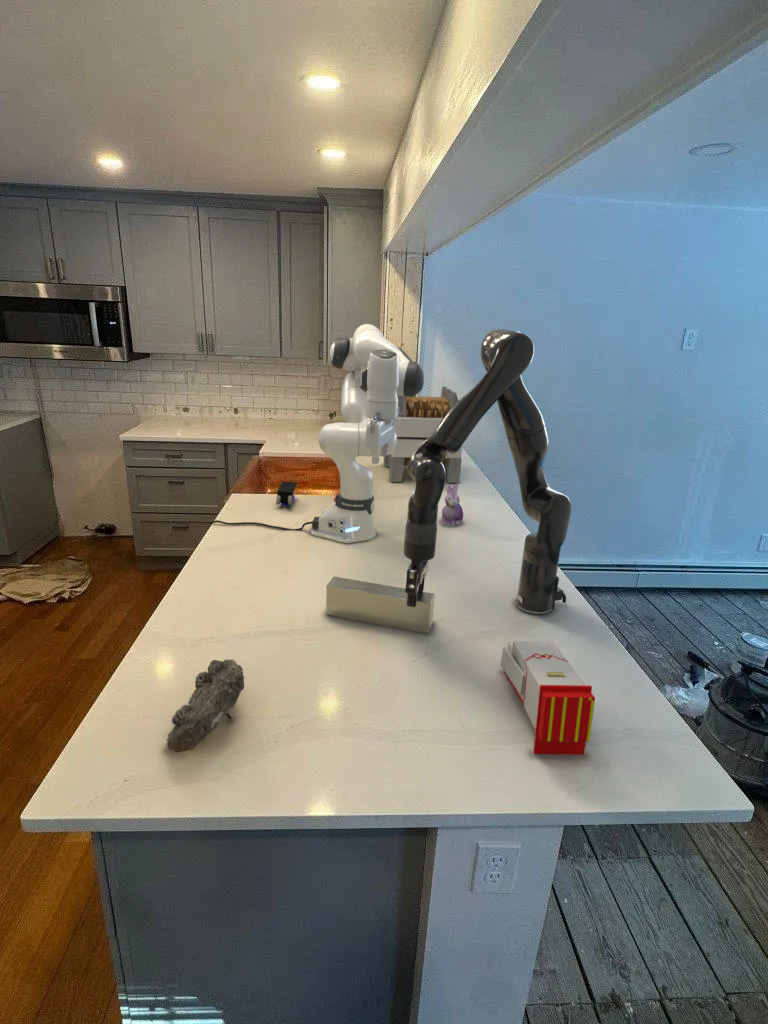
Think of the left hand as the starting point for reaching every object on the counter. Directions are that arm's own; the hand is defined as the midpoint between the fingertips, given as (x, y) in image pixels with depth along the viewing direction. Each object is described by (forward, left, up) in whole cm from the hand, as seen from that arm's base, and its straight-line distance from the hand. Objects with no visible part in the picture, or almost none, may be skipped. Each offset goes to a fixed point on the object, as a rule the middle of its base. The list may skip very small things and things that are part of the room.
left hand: (379, 459), depth 162 cm
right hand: (+19, -29, -26) cm, 43 cm away
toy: (+50, -50, -34) cm, 78 cm away
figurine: (+16, +48, -34) cm, 60 cm away
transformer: (-11, +109, -34) cm, 115 cm away
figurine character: (-49, +43, -34) cm, 74 cm away
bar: (+10, -29, -34) cm, 45 cm away
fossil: (-10, -74, -34) cm, 82 cm away
